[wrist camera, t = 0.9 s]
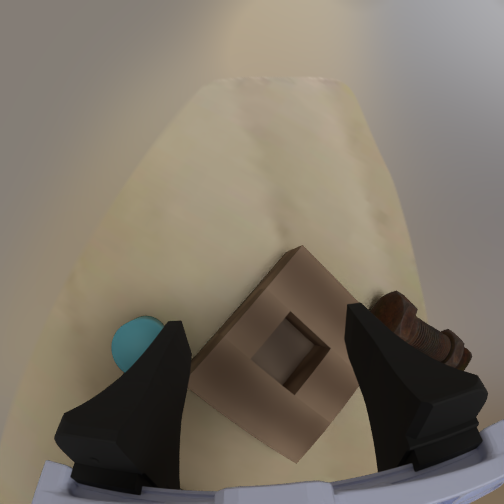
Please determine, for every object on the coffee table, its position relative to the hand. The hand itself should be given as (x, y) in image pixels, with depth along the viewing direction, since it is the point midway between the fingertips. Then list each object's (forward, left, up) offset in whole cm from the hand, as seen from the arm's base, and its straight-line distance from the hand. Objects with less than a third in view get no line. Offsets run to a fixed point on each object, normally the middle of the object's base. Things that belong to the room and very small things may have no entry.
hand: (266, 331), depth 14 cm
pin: (-5, +3, -13) cm, 15 cm away
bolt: (+12, -18, -13) cm, 25 cm away
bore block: (+2, -7, -13) cm, 15 cm away
